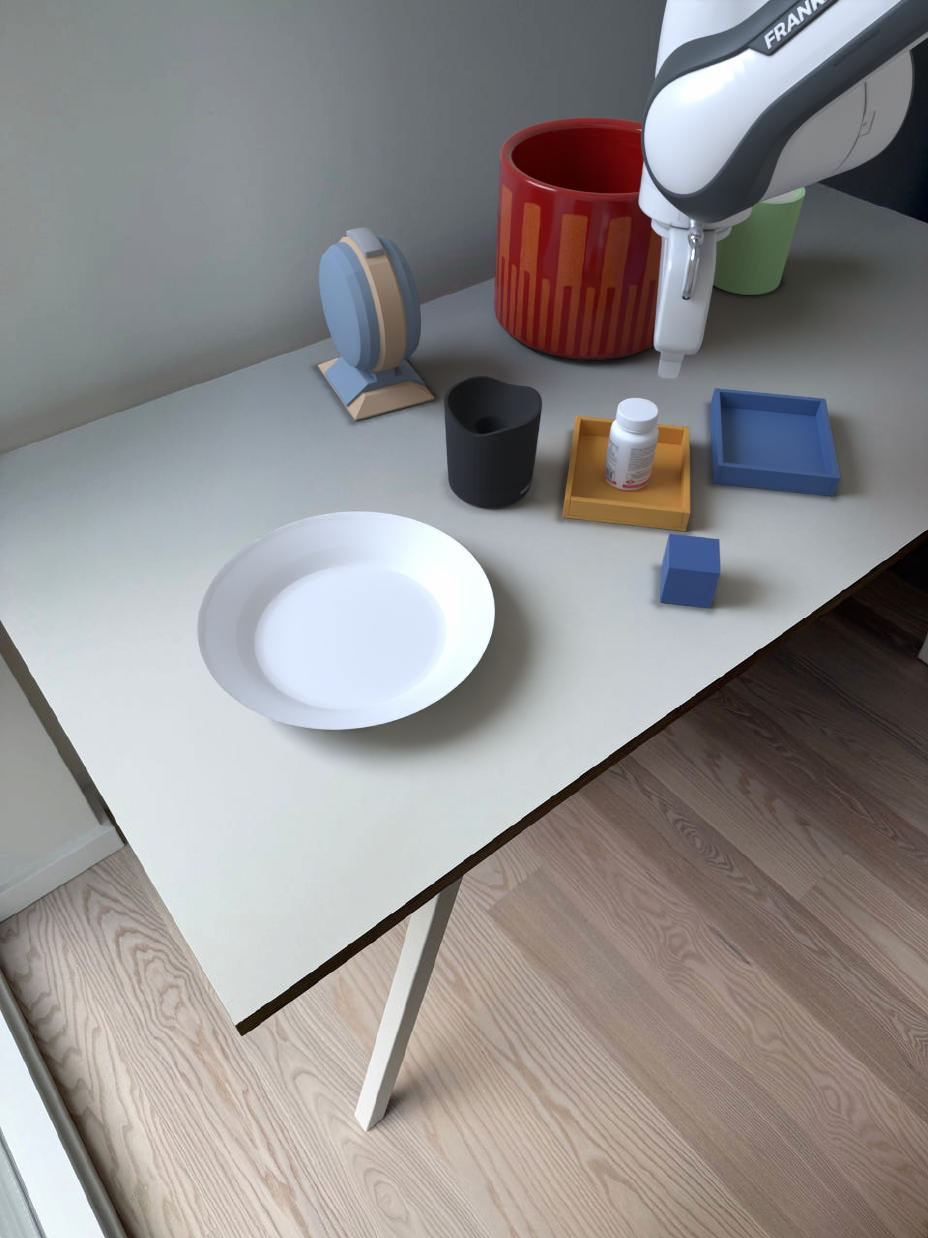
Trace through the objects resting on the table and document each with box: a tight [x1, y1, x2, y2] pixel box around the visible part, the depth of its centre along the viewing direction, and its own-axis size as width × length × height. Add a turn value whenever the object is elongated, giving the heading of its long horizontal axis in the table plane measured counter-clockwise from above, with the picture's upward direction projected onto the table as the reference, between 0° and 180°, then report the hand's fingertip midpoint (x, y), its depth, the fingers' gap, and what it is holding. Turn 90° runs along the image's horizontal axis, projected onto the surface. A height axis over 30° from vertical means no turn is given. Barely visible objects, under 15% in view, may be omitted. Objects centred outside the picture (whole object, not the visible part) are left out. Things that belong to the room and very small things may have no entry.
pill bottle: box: [604, 397, 660, 491], centre depth 90 cm, size 5×5×8 cm
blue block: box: [659, 533, 722, 609], centre depth 81 cm, size 4×4×4 cm
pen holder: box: [443, 374, 543, 509], centre depth 89 cm, size 9×9×10 cm
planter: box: [493, 116, 662, 361], centre depth 108 cm, size 23×23×20 cm
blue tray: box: [709, 387, 841, 497], centre depth 96 cm, size 12×14×2 cm
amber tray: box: [562, 415, 691, 532], centre depth 92 cm, size 12×14×2 cm
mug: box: [713, 187, 806, 296], centre depth 119 cm, size 13×10×12 cm
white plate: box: [196, 510, 496, 731], centre depth 77 cm, size 25×25×4 cm
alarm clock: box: [317, 226, 436, 422], centre depth 98 cm, size 14×10×18 cm
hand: (669, 345), depth 79 cm, fingers open, 8 cm apart
